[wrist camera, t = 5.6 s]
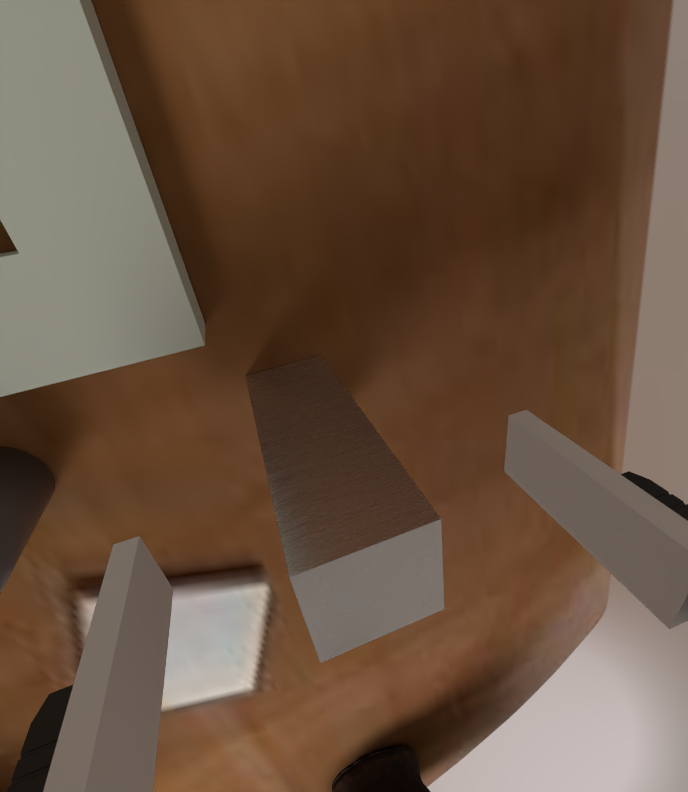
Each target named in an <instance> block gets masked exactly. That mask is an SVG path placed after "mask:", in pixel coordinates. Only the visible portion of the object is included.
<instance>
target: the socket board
mask: <svg viewBox="0 0 688 792" xmlns="http://www.w3.org/2000/svg"><path fill="white" fill-rule="evenodd" d="M0 220H1V222H2V224H3V226H4V227H5V229H6V231H7V233H8V235H9V236H10V238H11V240H12V242H13V244H14V245H15V247H16V249H17V251H11V252H6V253H1V254H0V397H3V396H6V395H10V394H14V393H18V392H22V391H26V390H30V389H34V388H38V387H42V386H46V385H50V384H54V383H58V382H62V381H66V380H70V379H74V378H78V377H82V376H86V375H90V374H94V373H98V372H102V371H106V370H110V369H114V368H118V367H122V366H126V365H130V364H134V363H138V362H142V361H146V360H149V359H153V358H157V357H161V356H165V355H169V354H173V353H177V352H181V351H185V350H189V349H193V348H197V347H201V346H205V322H204V319H203V316H202V313H201V310H200V308H199V305H198V302H197V299H196V296H195V293H194V291H193V288H192V285H191V282H190V279H189V276H188V274H187V271H186V268H185V265H184V262H183V259H182V257H181V254H180V251H179V248H178V245H177V242H176V240H175V237H174V234H173V231H172V228H171V225H170V223H169V220H168V217H167V214H166V211H165V208H164V205H163V203H162V200H161V197H160V194H159V191H158V188H157V186H156V183H155V180H154V177H153V174H152V171H151V169H150V166H149V163H148V160H147V157H146V154H145V152H144V149H143V146H142V143H141V140H140V137H139V135H138V132H137V129H136V126H135V123H134V120H133V118H132V115H131V112H130V109H129V106H128V103H127V100H126V98H125V95H124V92H123V89H122V86H121V83H120V81H119V78H118V75H117V72H116V69H115V66H114V64H113V61H112V58H111V55H110V52H109V49H108V47H107V44H106V41H105V38H104V35H103V32H102V30H101V27H100V24H99V21H98V18H97V15H96V13H95V10H94V7H93V4H92V1H91V0H0Z"/></svg>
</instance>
